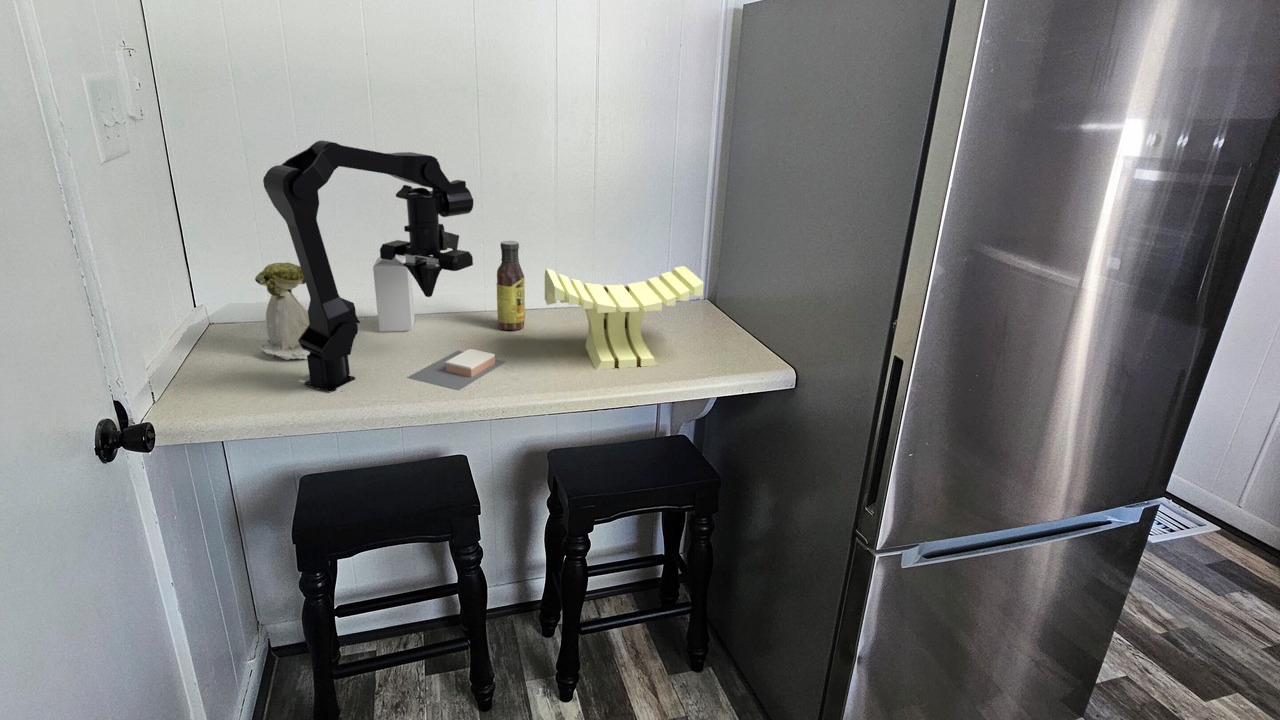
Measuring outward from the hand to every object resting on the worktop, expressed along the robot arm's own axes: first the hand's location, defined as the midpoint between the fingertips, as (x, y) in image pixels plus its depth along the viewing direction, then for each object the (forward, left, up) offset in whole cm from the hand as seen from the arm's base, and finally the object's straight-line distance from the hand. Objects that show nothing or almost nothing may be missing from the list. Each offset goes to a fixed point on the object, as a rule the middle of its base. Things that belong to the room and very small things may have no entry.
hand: (428, 296), depth 145 cm
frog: (-13, +24, -12) cm, 30 cm away
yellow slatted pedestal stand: (+18, -35, -12) cm, 41 cm away
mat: (-6, -11, -12) cm, 17 cm away
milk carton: (+8, +16, -12) cm, 22 cm away
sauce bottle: (+21, -6, -12) cm, 25 cm away
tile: (-4, -10, -11) cm, 15 cm away
